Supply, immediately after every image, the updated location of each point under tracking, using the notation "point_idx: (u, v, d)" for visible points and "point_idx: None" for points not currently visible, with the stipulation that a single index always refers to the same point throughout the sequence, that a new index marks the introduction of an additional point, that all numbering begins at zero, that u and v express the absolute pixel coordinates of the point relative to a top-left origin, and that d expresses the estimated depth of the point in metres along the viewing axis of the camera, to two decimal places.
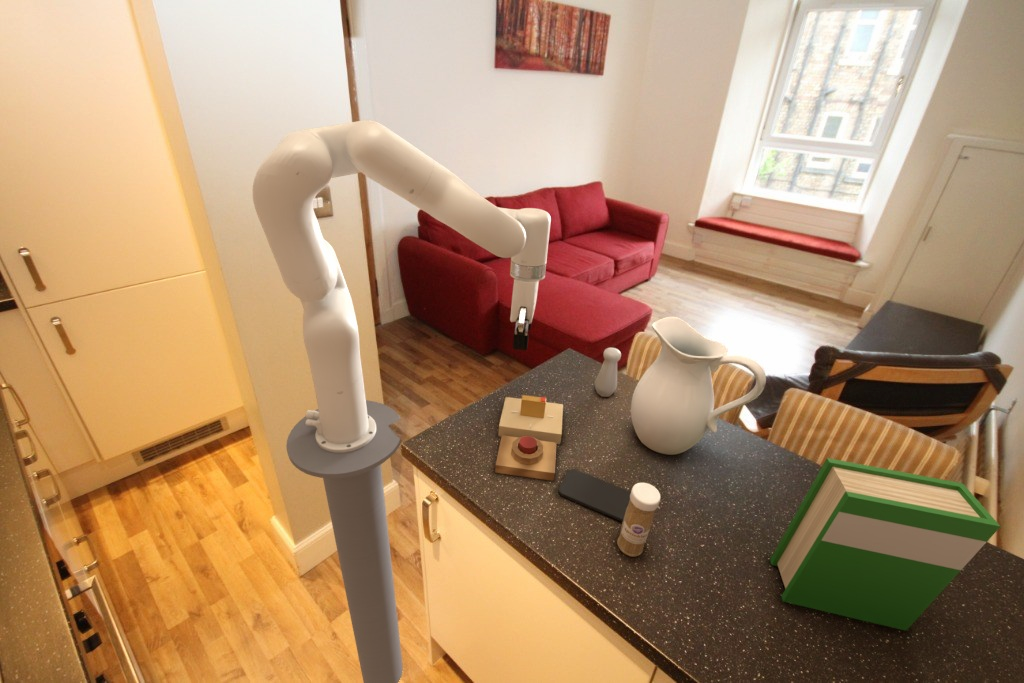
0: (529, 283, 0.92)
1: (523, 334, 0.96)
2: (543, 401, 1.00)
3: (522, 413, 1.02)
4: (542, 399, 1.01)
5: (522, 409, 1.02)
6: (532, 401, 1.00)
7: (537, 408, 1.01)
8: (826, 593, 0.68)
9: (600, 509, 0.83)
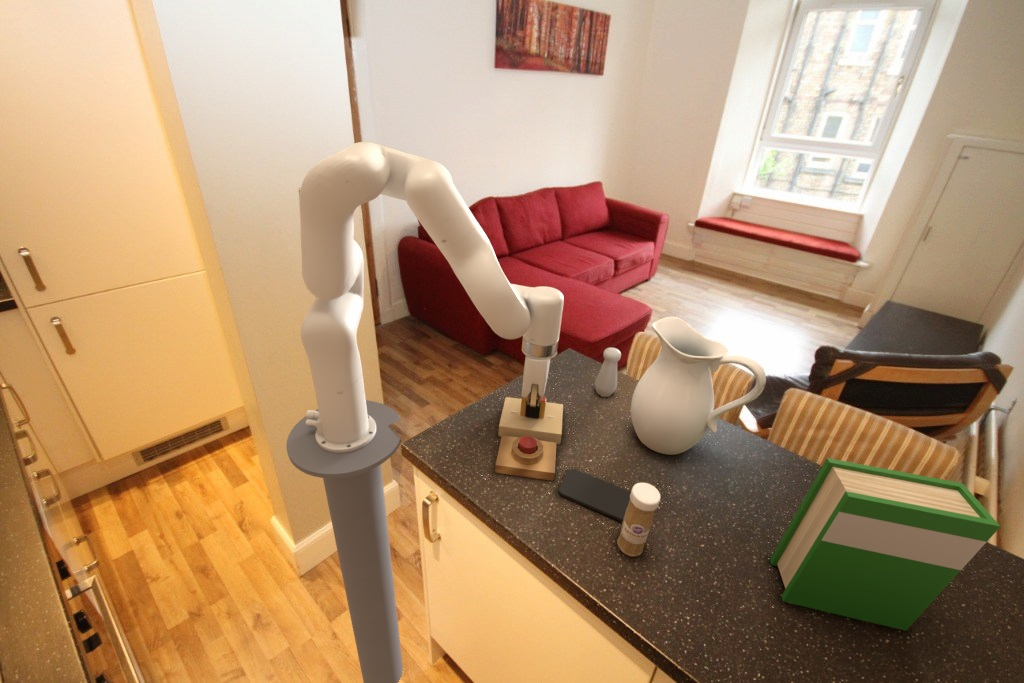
0: (541, 362, 0.91)
1: (535, 405, 0.98)
2: (543, 401, 1.00)
3: (522, 413, 1.02)
4: (542, 399, 1.01)
5: (522, 409, 1.02)
6: None
7: None
8: (826, 593, 0.68)
9: (600, 509, 0.83)
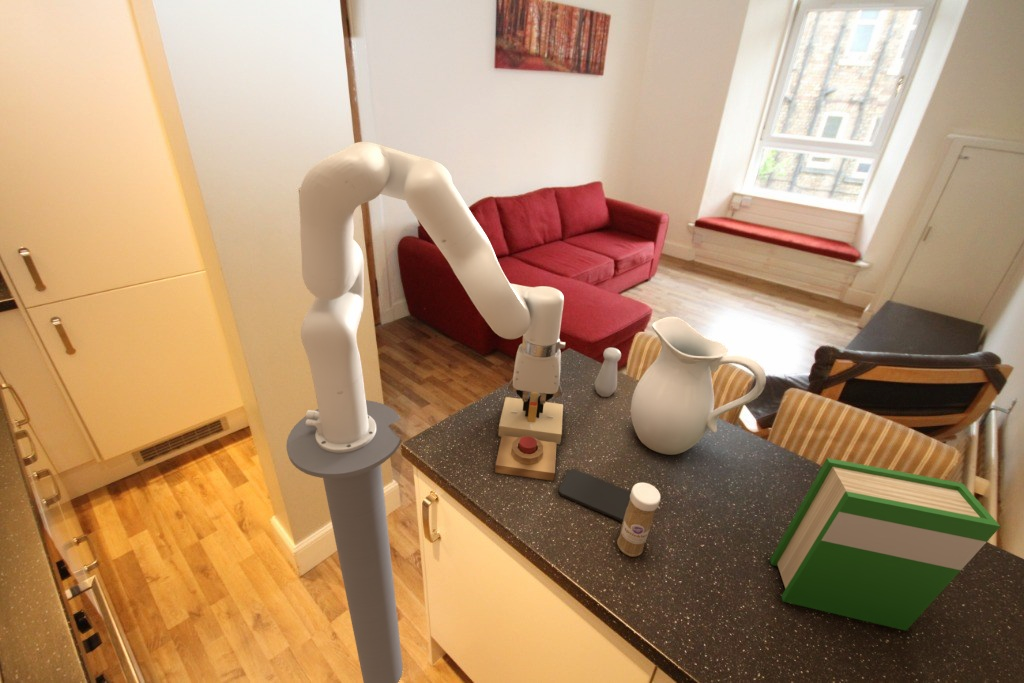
0: (519, 350, 0.94)
1: None
2: (530, 403, 0.99)
3: None
4: (532, 402, 0.99)
5: None
6: (530, 398, 1.01)
7: None
8: (826, 593, 0.68)
9: (600, 509, 0.83)
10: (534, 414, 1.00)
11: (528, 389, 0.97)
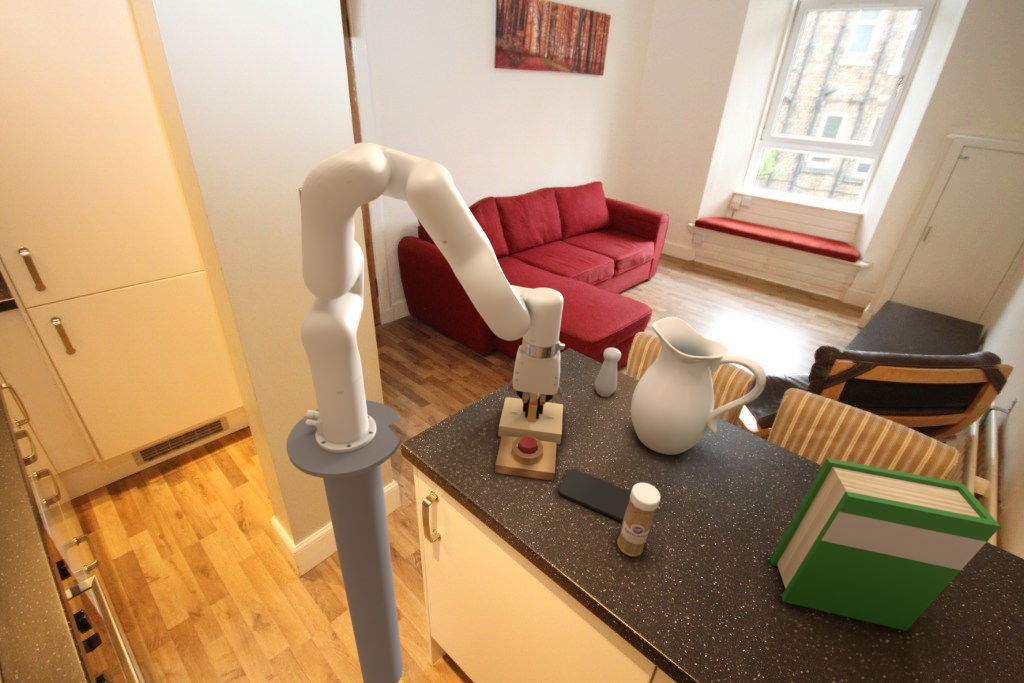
0: (518, 351, 0.95)
1: None
2: (530, 403, 0.99)
3: None
4: (532, 402, 0.99)
5: None
6: (530, 398, 1.01)
7: None
8: (826, 593, 0.68)
9: (600, 509, 0.83)
10: (534, 414, 1.00)
11: (528, 390, 0.98)
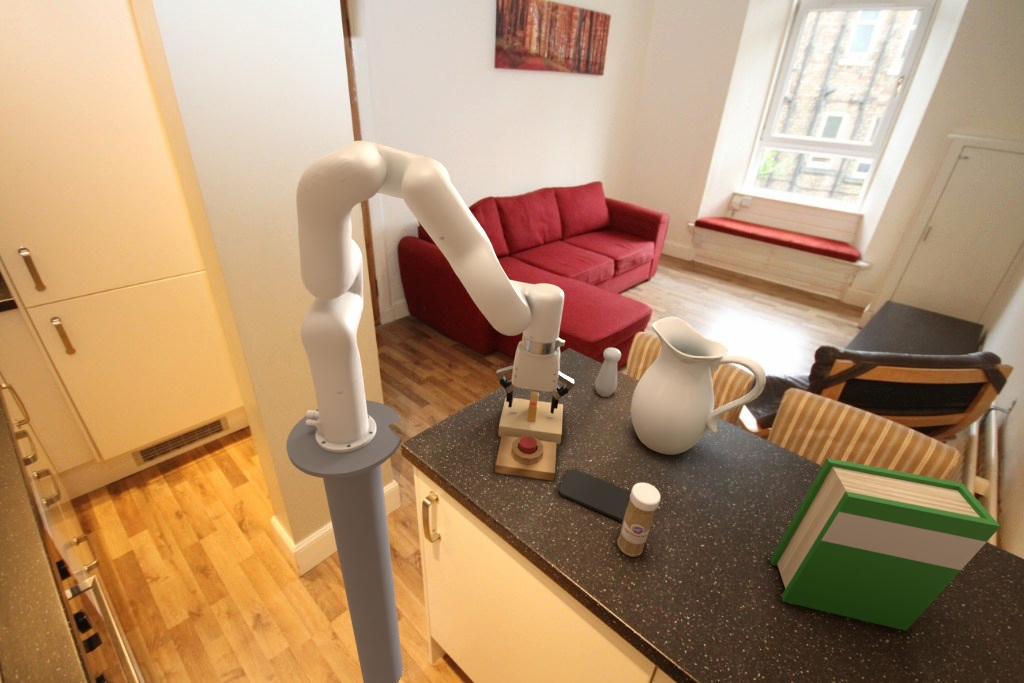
0: (518, 347, 0.94)
1: None
2: (530, 403, 0.99)
3: None
4: (532, 402, 0.99)
5: None
6: (530, 398, 1.01)
7: None
8: (826, 593, 0.68)
9: (600, 509, 0.83)
10: (534, 414, 1.00)
11: (527, 386, 0.97)
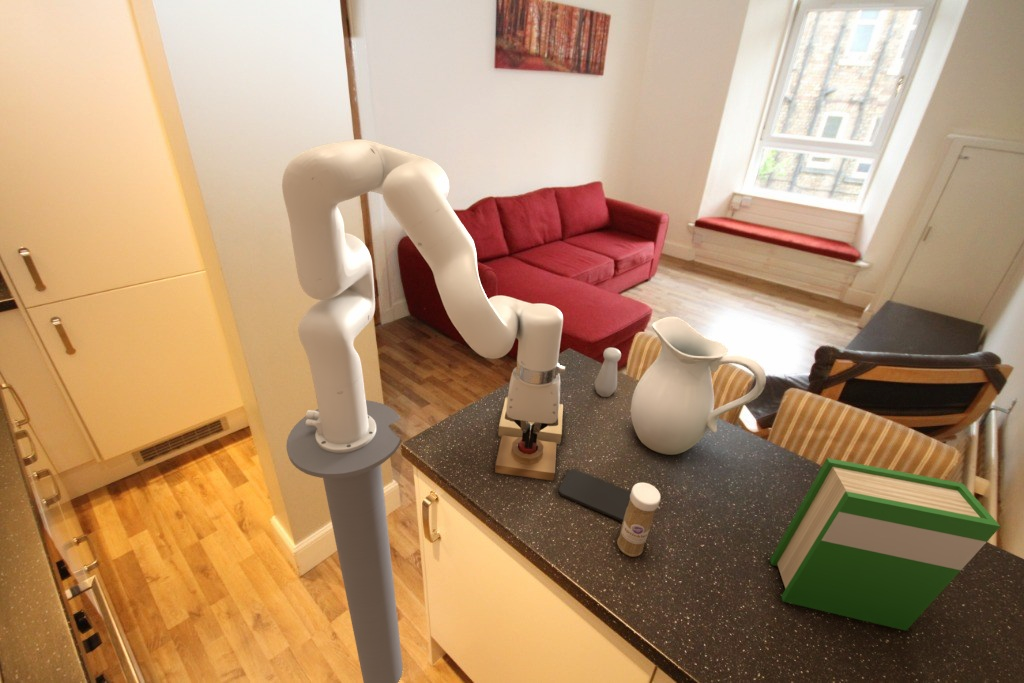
0: (512, 375, 0.83)
1: None
2: None
3: None
4: None
5: None
6: None
7: None
8: (826, 593, 0.68)
9: (600, 509, 0.83)
10: None
11: (523, 418, 0.86)
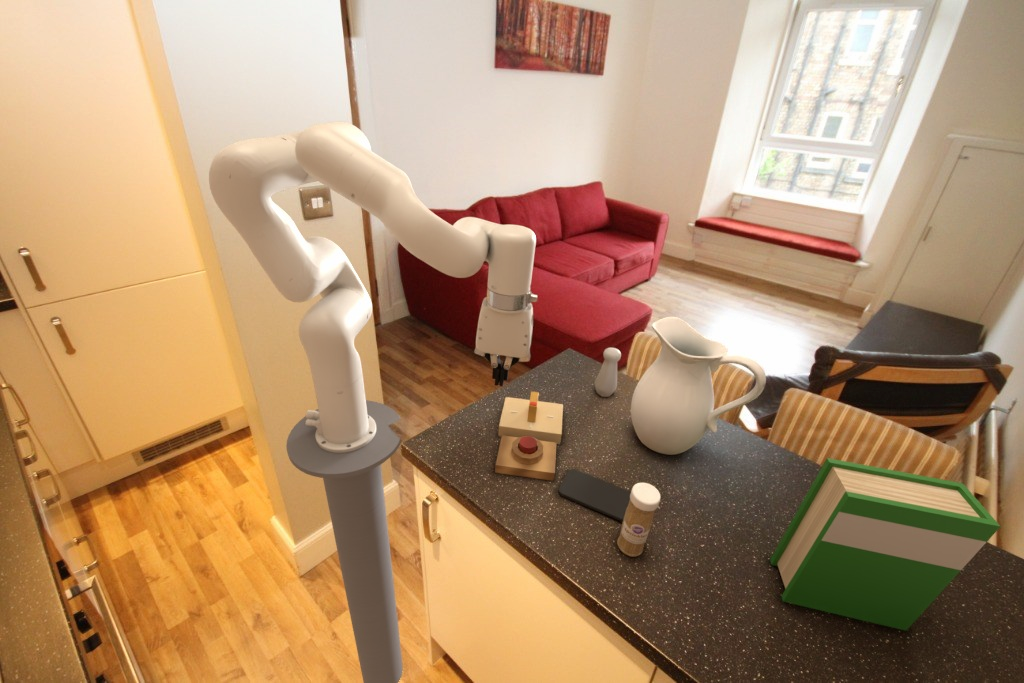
0: (482, 303, 0.79)
1: None
2: (530, 403, 0.99)
3: None
4: (532, 402, 0.99)
5: None
6: (530, 398, 1.01)
7: None
8: (826, 593, 0.68)
9: (600, 509, 0.83)
10: (534, 414, 1.00)
11: (493, 351, 0.82)
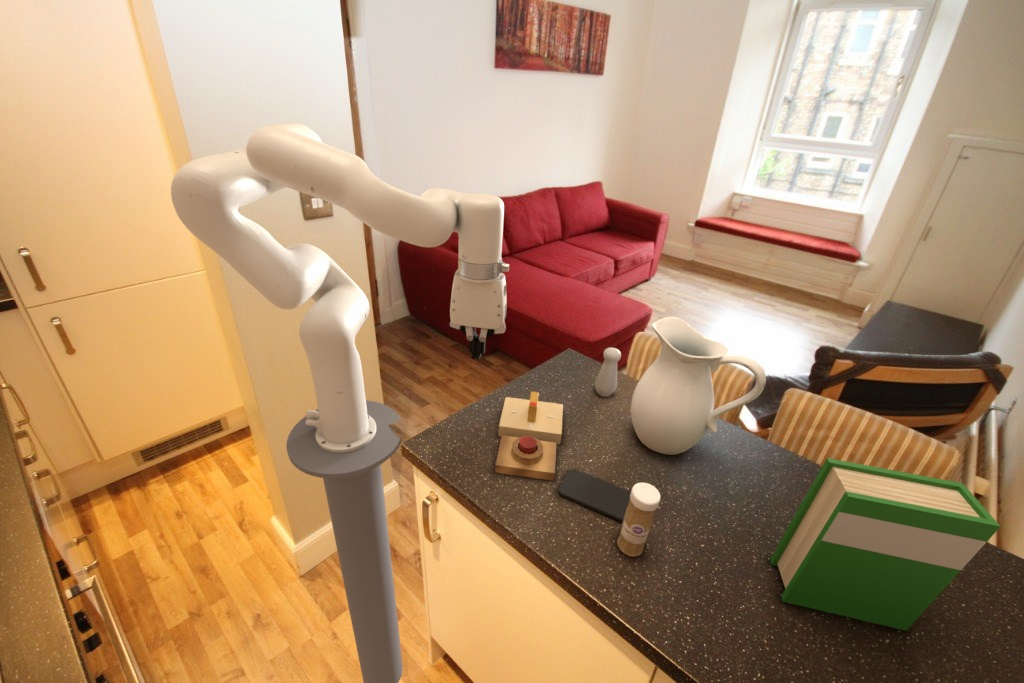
0: (455, 274, 0.79)
1: None
2: (530, 403, 0.99)
3: None
4: (532, 402, 0.99)
5: None
6: (530, 398, 1.01)
7: None
8: (826, 593, 0.68)
9: (600, 509, 0.83)
10: (534, 414, 1.00)
11: (468, 323, 0.82)
